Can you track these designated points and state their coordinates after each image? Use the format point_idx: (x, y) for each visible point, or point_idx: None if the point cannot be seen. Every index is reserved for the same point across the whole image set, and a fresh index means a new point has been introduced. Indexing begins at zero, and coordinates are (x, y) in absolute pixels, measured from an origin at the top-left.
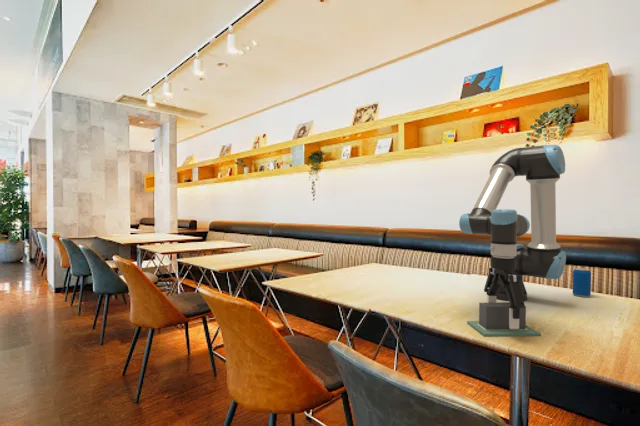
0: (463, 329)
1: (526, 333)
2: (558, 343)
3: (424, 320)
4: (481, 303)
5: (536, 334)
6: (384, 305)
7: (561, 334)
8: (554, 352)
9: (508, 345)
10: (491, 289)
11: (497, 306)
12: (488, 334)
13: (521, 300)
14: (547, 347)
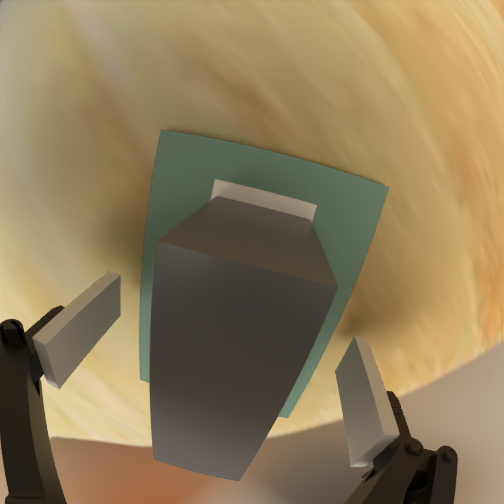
0: None
1: (359, 267)
2: (465, 195)
3: (121, 434)
4: (172, 464)
5: (378, 212)
6: None
7: (389, 58)
8: (489, 293)
9: None
10: (47, 439)
11: (249, 455)
12: (293, 406)
13: (445, 493)
14: (465, 280)
